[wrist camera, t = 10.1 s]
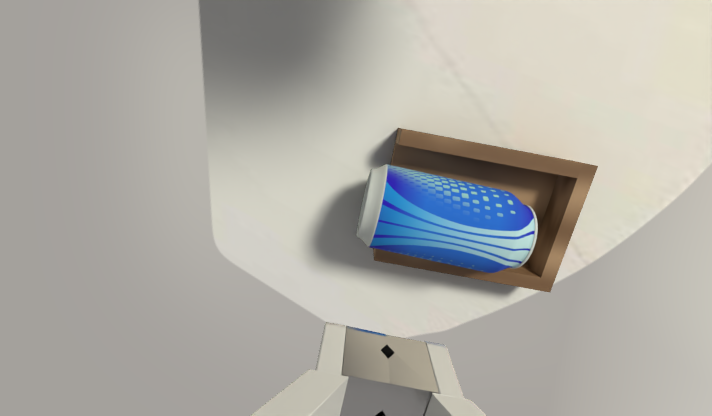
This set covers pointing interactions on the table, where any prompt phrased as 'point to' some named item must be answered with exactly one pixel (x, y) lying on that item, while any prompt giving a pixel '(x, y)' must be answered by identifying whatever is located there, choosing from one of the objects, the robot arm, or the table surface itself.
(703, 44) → the table surface
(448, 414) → the robot arm
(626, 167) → the table surface
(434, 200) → the beer can
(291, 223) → the table surface
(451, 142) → the open box
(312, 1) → the table surface
